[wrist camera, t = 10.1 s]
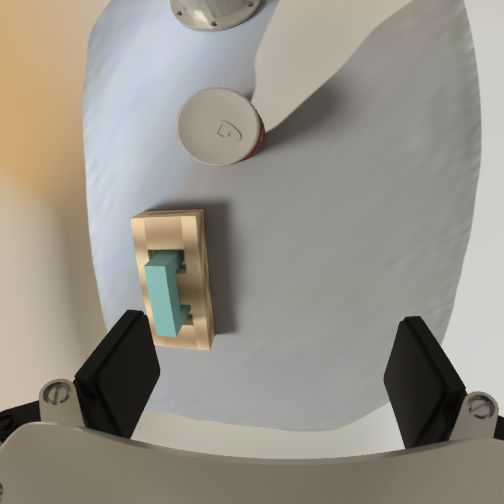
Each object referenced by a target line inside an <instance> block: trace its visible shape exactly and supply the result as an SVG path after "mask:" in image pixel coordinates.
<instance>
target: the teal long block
mask: <svg viewBox="0 0 504 504" xmlns="http://www.w3.org/2000/svg"><path fill="white" fill-rule="evenodd" d="M183 262H184V255H183V249H161V250H160V251H159V252H158V253H157V254H156V255H155V256H154V257H153V258H152V259H151V260H150V261H148V262H147V263H146V264H145V265H144V271H145V276H146V282H147V288H148V293H149V299H150V304H151V309H152V314H153V319H154V323H155V328H156V332H157V335H161V336H171V337H177V335H178V333H179V331H180V329H181V327H182V325H183V324H184V322H185V320H186V318H187V316H188V314H189V312H190V305H181V304H179V297H178V290H177V283H176V276H175V272H176V270H177V269H178V268H179V267H180V265H181V264H182V263H183Z"/></svg>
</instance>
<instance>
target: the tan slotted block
mask: <svg viewBox="0 0 504 504" xmlns="http://www.w3.org/2000/svg"><path fill="white" fill-rule="evenodd" d="M131 224H132V232H133V239H134V246H135V252H136V259H137V265H138V270H139V276H140V281H141V287H142V292H143V297H144V302H145V307H146V311H147V316H148V319H149V324H150V328H151V333H152V337H153V342H154V345H157V346H167V347H177V348H188V349H200V350H210V348H211V346H212V343H213V340H214V337H215V330H214V321H213V312H212V302H211V292H210V282H209V271H208V259H207V248H206V235H205V222H204V209H194V210H167V211H146V212H142V213H140V214H138V215H136V216H134V217H132V218H131ZM161 249H183V255H184V262H183V263H182V264H181V265H180V267H179V268H178V269H177V270H176V272H175V276H176V283H177V290H178V297H179V304H181V305H190V312H189V314H188V316H187V318H186V320H185V322H184V324H183V325H182V327H181V329H180V331H179V333H178V335H177V337H171V336H161V335H157V332H156V328H155V323H154V319H153V314H152V309H151V304H150V299H149V293H148V288H147V282H146V276H145V271H144V265H145V264H146V263H147V262H148V261H150V260H151V259H152V258H153V257H154V256H155V255H156V254H157V253H158V252H159V251H160V250H161Z"/></svg>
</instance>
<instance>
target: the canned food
mask: <svg viewBox="0 0 504 504" xmlns="http://www.w3.org/2000/svg"><path fill="white" fill-rule="evenodd" d="M177 135H178V139H179V141H180V144H181V146H182V147H183V149H184V150H185V151H186V152H187V153H188V154H189V155H190V156H191V157H192V158H194V159H195V160H197V161H199V162H201V163H203V164H206V165H211V166H227V165H232V164H235V163H238V162H240V161H243V160H246V159H249V158H250V157H252V156H253V155H255V154H256V153H257V152H258V150H259V149H260V148H261V146H262V144H263V142H264V137H265V129H264V124H263V122H262V119H261V117H260V116H259V114H258V113H257V110H256V109H255V107H254V106H253V105H252V103H251V102H250V101H249V100H248V99H247V98H246V97H245V96H243V95H241V94H240V93H238V92H236V91H233V90H231V89H227V88H221V87H219V88H209V89H204V90H202V91H200V92H197V93H196V94H194V95H193V96H191V97H190V98H189V99H188V100H187V101H186V102H185V104H184V105H183V106H182V108H181V110H180V112H179V115H178V118H177Z"/></svg>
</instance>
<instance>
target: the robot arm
mask: <svg viewBox="0 0 504 504" xmlns="http://www.w3.org/2000/svg"><path fill="white" fill-rule="evenodd" d="M260 2H261V0H170V4H171V9H172V12H173V14H174V15H175V17H176V18H177V19H178V20H179V21H180V22H181V23H182V24H184V25H185V26H187V27H189V28H191V29H195V30H199V31H219V30H224V29H228V28H230V27H233V26H236V25H238V24H240V23H241V22H243V21H245V20H246V19H247V18H249V17H250V16H251V15H252V14H253V13H254V12H255V11H256V9H257V8H258V6H259V5H260ZM250 6H253V7H250ZM180 15H181V16H180ZM215 25H217V26H215ZM214 26H215V27H214ZM159 376H160V366H159V362H158V358H157V354H156V350H155V346H154V342H153V337H152V333H151V328H150V324H149V319H148V316H147V315H144V313H143V311H138V310H127V311H126V312H125V313H124V314H123V316H122V317H121V318H120V319H119V320H118V322H117V323H116V324H115V325H114V326H113V328H112V329H111V330H110V331H109V333H108V334H107V335H106V336H105V338H104V339H103V340H102V341H101V343H100V344H99V345H98V346H97V348H96V349H95V350H94V351H93V353H92V354H91V355H90V357H89V358H88V359H87V360H86V362H85V363H84V364H83V366H82V367H81V368H80V370H79V371H78V372H77V373H76V375H75V380H74V381H73V382H71V381H69V380H66V379H56V380H53V381H50V382H48V383H47V384H45V385H44V387H43V388H42V389H41V391H40V393H39V400H38V401H34V402H32V403H28V404H24V405H21V406H18V407H14V408H10V409H7V410H4V411H2V412H0V504H504V417H502V416H499V415H498V412H499V411H498V410H499V408H498V405H497V402H496V401H495V400H494V398H493V397H491V396H490V395H489V394H487V393H484V392H472V393H469V394H467V392H466V391H465V389H466V387H465V385H464V384H463V382H462V380H461V379H460V377H459V375H458V374H457V372H456V370H455V369H454V367H453V365H452V364H451V362H450V361H449V359H448V357H447V356H446V354H445V353H444V351H443V349H442V348H441V346H440V345H439V343H438V342H437V340H436V339H435V337H434V336H433V334H432V333H431V331H430V330H429V328H428V327H427V325H426V324H425V322H424V321H423V319H422V318H421V317H420V316H411V317H405V318H404V320H403V321H401V322H400V323H399V327H398V330H397V334H396V338H395V341H394V345H393V348H392V351H391V355H390V358H389V361H388V364H387V367H386V370H385V373H384V384H385V387H386V390H387V393H388V396H389V399H390V402H391V405H392V408H393V411H394V414H395V417H396V420H397V423H398V426H399V430H400V433H401V436H402V440H403V443H404V446H405V449H403V450H397V451H390V452H384V453H377V454H370V455H361V456H351V457H339V458H323V459H260V458H243V457H232V456H222V455H213V454H205V453H198V452H190V451H184V450H178V449H173V448H168V447H162V446H158V445H153V444H149V443H144V442H140V441H135V440H131V439H130V438H131V436H132V434H133V432H134V429H135V427H136V425H137V423H138V421H139V419H140V416H141V414H142V412H143V410H144V408H145V406H146V404H147V402H148V399H149V397H150V395H151V393H152V391H153V389H154V387H155V385H156V383H157V381H158V378H159Z"/></svg>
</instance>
